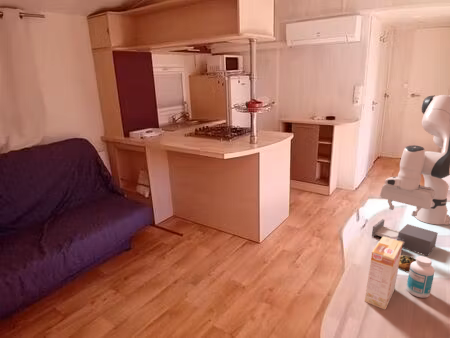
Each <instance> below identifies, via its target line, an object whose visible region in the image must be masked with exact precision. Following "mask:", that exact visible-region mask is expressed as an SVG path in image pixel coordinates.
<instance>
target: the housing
mask: <svg viewBox="0 0 450 338" xmlns="http://www.w3.org/2000/svg"><path fill="white" fill-rule="evenodd" d="M398 231H399V234H398V237H399V238H402V239H404V240H405V244H404V246H402V249H406V250H409V251H411V252H414V251H416V252H415V253H417V252H419V253H418V254H420V253H422V254H421V255H423V254H424V255H423V256H425V257H426V256H429V255H430V253H431V252H432V251H433V250H434V249H435V247H436V243H437V239H438V238H437V237H438V233H439V232H437V231H433V230H430V229H429V230H428V229H425V228H422V227H419V226H415V225H412V224H408V223H407V224H405V226H403V228H401V229H400V230H398Z"/></svg>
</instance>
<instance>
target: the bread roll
mask: <svg viewBox="0 0 450 338" xmlns="http://www.w3.org/2000/svg"><path fill="white" fill-rule="evenodd" d="M414 261H416V258H414V257H413V256H410V255H406V254H405V255H404V254H401V256H400V261H399V267H398V269H399V268H400V269H399V270H402V271H405V272H406V271H407V273H409V270H410V265H411V263H412V262H414Z"/></svg>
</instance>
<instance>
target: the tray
mask: <svg viewBox="0 0 450 338" xmlns="http://www.w3.org/2000/svg"><path fill="white" fill-rule="evenodd" d="M384 225H385V219H384V218H382V219H381V220H380V221H378V222H377V223H376V224H374V225H373V226H372V232H371V237H372V238H374V237H376V236H378V237H381V238H382V237H388V238H391V237H398V234H399V231H400V230H396V229H393V228H390V227H386V226H384Z"/></svg>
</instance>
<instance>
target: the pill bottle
mask: <svg viewBox="0 0 450 338" xmlns="http://www.w3.org/2000/svg"><path fill="white" fill-rule="evenodd" d="M415 259H416V261H414V262H412V263H411V265H410V270H409V272H408V276H407V280H406V282H407V283H406V290H407V292H408V293H409V294H410V295H412V296H414V297H417V298H425V299H426V298H428V297H430V295H431V290H432V286H433V282H434V276H435V267H433V266H432V263H433V262H432V259H430V258H429V257H426V256H424V255H422V256H421V255H418V256H416V258H415Z"/></svg>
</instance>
